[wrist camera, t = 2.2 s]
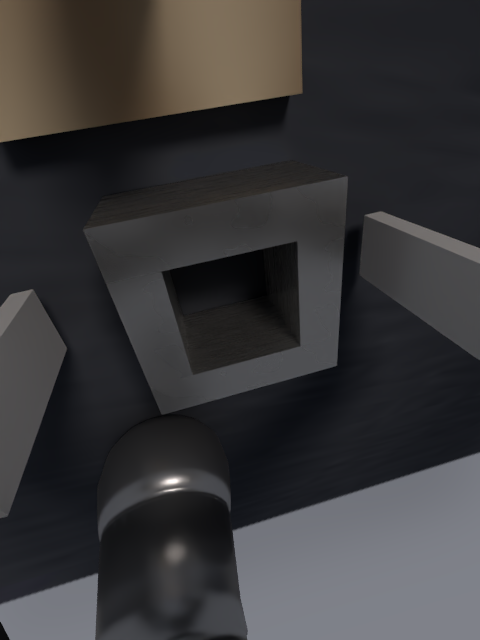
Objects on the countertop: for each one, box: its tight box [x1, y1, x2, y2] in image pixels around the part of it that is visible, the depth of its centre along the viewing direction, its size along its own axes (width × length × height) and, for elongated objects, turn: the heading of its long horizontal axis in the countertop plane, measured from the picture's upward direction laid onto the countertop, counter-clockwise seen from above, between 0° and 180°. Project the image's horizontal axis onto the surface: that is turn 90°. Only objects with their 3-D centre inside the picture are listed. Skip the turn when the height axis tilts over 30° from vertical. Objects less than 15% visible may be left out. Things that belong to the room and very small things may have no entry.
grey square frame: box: [83, 160, 348, 415], centre depth 12 cm, size 7×7×4 cm
